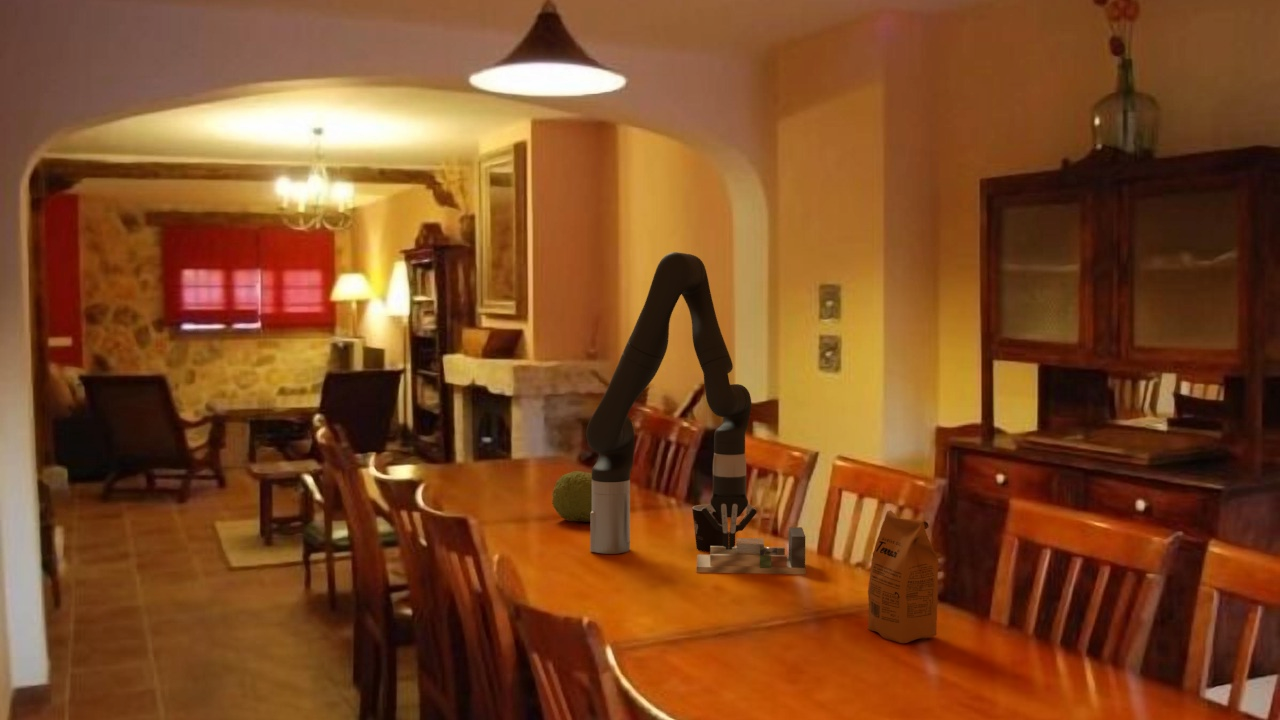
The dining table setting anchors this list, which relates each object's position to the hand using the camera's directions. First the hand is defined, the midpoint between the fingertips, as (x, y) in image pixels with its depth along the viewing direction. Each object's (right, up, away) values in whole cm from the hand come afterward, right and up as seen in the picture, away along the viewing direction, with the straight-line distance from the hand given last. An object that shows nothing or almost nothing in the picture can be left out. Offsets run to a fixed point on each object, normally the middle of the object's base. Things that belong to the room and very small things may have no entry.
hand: (729, 548), depth 259 cm
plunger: (+6, -3, -2) cm, 7 cm away
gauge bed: (+5, -4, 0) cm, 6 cm away
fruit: (-36, -1, +51) cm, 62 cm away
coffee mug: (-3, -3, +20) cm, 20 cm away
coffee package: (+28, -8, -50) cm, 58 cm away
